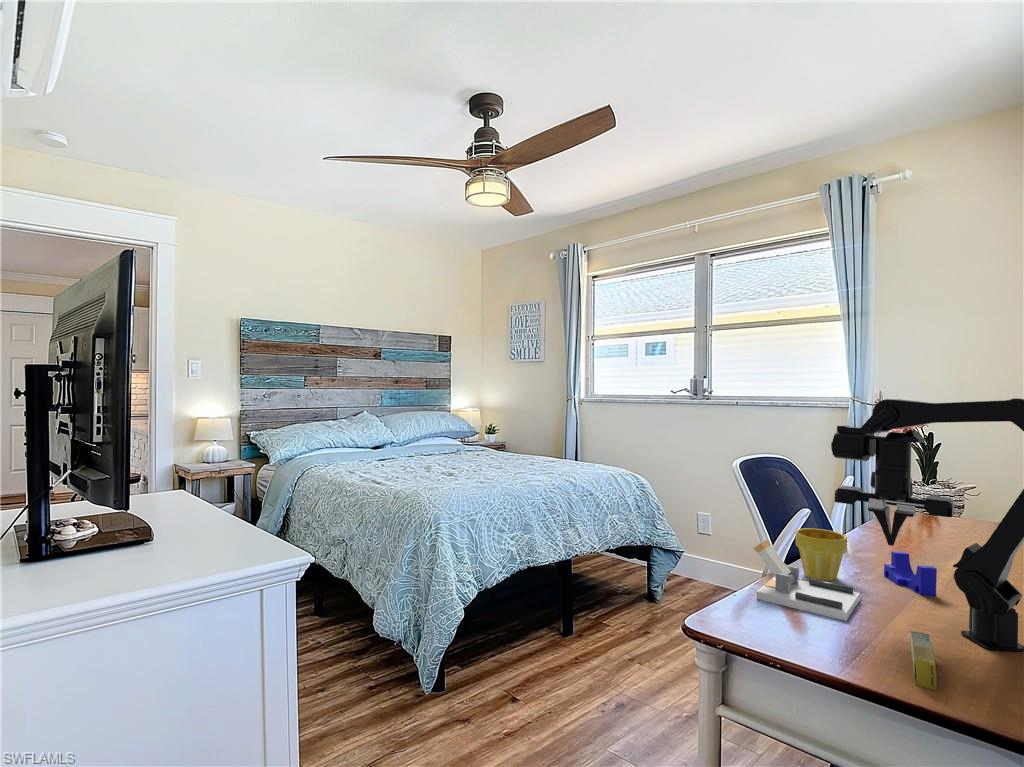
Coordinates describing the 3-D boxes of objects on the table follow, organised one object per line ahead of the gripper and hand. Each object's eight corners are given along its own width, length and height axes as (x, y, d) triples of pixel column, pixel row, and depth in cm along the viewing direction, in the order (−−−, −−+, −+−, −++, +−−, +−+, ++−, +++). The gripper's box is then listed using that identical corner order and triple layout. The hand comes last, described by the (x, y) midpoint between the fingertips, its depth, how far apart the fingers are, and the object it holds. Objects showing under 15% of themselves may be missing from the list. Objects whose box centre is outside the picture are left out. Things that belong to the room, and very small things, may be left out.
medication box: (910, 654, 94) (910, 630, 94) (931, 659, 92) (930, 633, 92) (914, 686, 83) (914, 659, 84) (937, 692, 82) (937, 663, 82)
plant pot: (819, 585, 125) (820, 540, 125) (784, 570, 135) (785, 529, 135) (857, 582, 128) (858, 538, 128) (820, 567, 138) (821, 527, 138)
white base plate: (859, 600, 117) (860, 575, 117) (846, 620, 106) (846, 593, 106) (776, 581, 127) (776, 559, 127) (756, 598, 117) (756, 574, 117)
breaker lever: (797, 578, 120) (767, 539, 124) (790, 585, 117) (760, 543, 120) (789, 583, 121) (760, 543, 125) (783, 589, 118) (753, 548, 121)
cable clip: (883, 576, 133) (884, 550, 133) (904, 578, 132) (905, 552, 132) (912, 595, 121) (913, 567, 121) (936, 597, 120) (936, 568, 120)
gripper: (956, 465, 111) (954, 546, 111) (846, 456, 123) (844, 529, 123) (952, 471, 102) (950, 559, 102) (834, 460, 114) (833, 539, 114)
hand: (891, 545), depth 111 cm, fingers closed
